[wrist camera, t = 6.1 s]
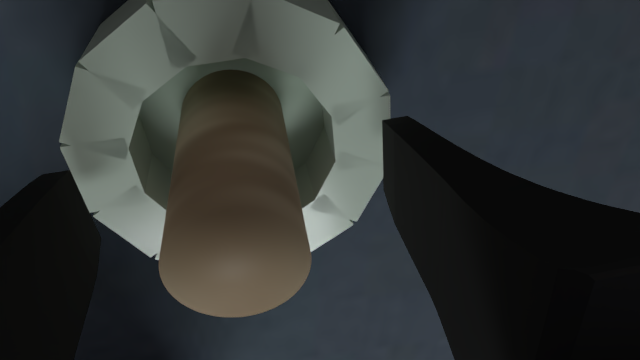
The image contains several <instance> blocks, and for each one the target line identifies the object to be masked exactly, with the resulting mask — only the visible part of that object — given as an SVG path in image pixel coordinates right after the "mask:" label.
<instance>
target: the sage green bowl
mask: <svg viewBox="0 0 640 360" xmlns="http://www.w3.org/2000/svg"><path fill="white" fill-rule="evenodd" d="M221 70H241V71H246V72H249V73H252V74H254V75H256V76H258V77H260V78H261V79H263V80H264V81H266V82H267V83H268V84H269V85H270V86H271V87H272V88H273V90H274V91H275V92H276V94H277V96H278V98H279V100H280V103H281V107H282V112H283V117H284V122H285V127H286V132H287V137H288V142H289V147H290V152H291V157H292V162H293V167H294V172H295V177H296V182H297V187H298V192H299V197H300V202H301V207H302V212H303V217H304V222H305V227H306V232H307V237H308V242H309V246H310V252H312V251H313V250H315V249H317V248H318V247H320V246H321V245H323V244H324V243H326V242H327V241H329V240H331V239H332V238H334V237H335V236H337V235H338V234H340V233H341V232H343V231H345V230H346V229H348V228H349V227H351V226H352V225H354V224H353V221H357V220H358V219H359V217H360V215H361V214H362V212H363V210H364V209H365V207H366V205H367V204H368V202H369V200H370V199H371V197H372V195H373V194H374V192H375V190H376V189H377V187H378V185H379V184H380V182H381V180H382V179H383V138H382V120H386V119H390V94H389V93H388V89H387V87H386V86H385V84H384V83H383V81H382V79H381V78H380V76H379V75H378V73H377V71H376V70H375V68H374V67H373V65H372V63H371V62H370V60H369V59H368V57H367V55H366V54H365V52H364V51H363V49H362V48H361V47H360V45H359V44H358V42H357V41H356V39H355V38H354V37H353V35H352V34H351V32H350V31H349V29H348V28H347V26H346V25H345V24H344V22H343V21H342V19H341V18H340V16H339V15H338V13H337V12H336V11H335V9H334V8H333V6H332V5H331V3H330V2H329V1H328V0H128V1H127V2H126V3H124V4H123V5H122V6H121V7H120V8H119V9H117V10H116V11H115V12H114V13H113V14H112V15H111V16H109V17H108V18H107V19H106V20H105V21H104V22H102V23H101V24H100V26H99V27H98V29H97V31H96V32H95V34H94V36H93V37H92V39H91V41H90V43H89V44H88V46H87V48H86V49H85V51H84V53H83V54H82V56H81V58H80V59H79V61H78V63H77V64H76V66H75V70H74V74H73V79H72V84H71V88H70V93H69V98H68V102H67V107H66V112H65V116H64V121H63V126H62V130H61V135H60V140H59V142H60V143H62V144H61V146H60V149H61V151H62V154H63V156H64V158H65V160H66V162H67V164H68V167H69V169H70V171H71V173H72V175H73V178H74V180H75V182H76V184H77V186H78V188H79V191H80V193H81V195H82V197H83V199H84V202H85V204H86V206H87V208H88V210H89V212H90V213H91V212H94V214H93V217H94V218H96V219H97V220H98V221H100V222H101V223H103V224H104V225H105V226H107V227H108V228H110V229H111V230H112V231H114V232H115V233H117V234H118V235H120V236H121V237H122V238H124V239H125V240H127V241H128V242H129V243H131V244H132V245H134V246H135V247H136V248H138V249H139V250H141V251H142V252H143V253H145V254H146V255H148V256H149V257H150V258H151V257H152V256H154V255H155V254H156V256H155V260H159V256H160V250H161V243H162V236H163V230H164V223H165V216H166V210H167V203H168V196H169V190H170V183H171V176H172V170H173V163H174V156H175V150H176V143H177V136H178V130H179V123H180V116H181V109H182V104H183V101H184V98H185V96H186V94H187V92H188V91H189V89H190V88H191V87H192V86H193V85H194V83H196V82H197V81H198V80H199V79H201V78H202V77H204V76H206V75H208V74H210V73H213V72H216V71H221ZM352 220H353V221H352Z"/></svg>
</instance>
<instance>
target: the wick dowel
mask: <svg viewBox="0 0 640 360" xmlns="http://www.w3.org/2000/svg"><path fill="white" fill-rule="evenodd" d="M310 267H311V252H310V246H309V242H308V237H307V232H306V227H305V222H304V217H303V212H302V207H301V202H300V197H299V192H298V187H297V182H296V177H295V172H294V167H293V162H292V157H291V152H290V147H289V142H288V137H287V132H286V127H285V122H284V117H283V112H282V107H281V103H280V100H279V98H278V96H277V94H276V92H275V91H274V90H273V88H272V87H271V86H270V85H269V84H268V83H267V82H266V81H264V80H263V79H261V78H260V77H258V76H256V75H254V74H252V73H249V72H246V71H241V70H221V71H216V72H213V73H210V74H208V75H206V76H204V77H202V78H201V79H199V80H198V81H197V82H196V83H194V85H193V86H192V87H191V88H190V89H189V91H188V92H187V94H186V96H185V98H184V101H183V104H182V109H181V116H180V123H179V130H178V136H177V143H176V150H175V156H174V163H173V170H172V176H171V183H170V190H169V196H168V203H167V210H166V216H165V223H164V230H163V236H162V243H161V250H160V256H159V273H160V277H161V280H162V282H163V284H164V286H165V288H166V289H167V291H168V292H169V293H170V294H171V295H172V296H173V297H174V298H175V299H176V300H177V301H179V302H180V303H181V304H183V305H185V306H186V307H188V308H190V309H192V310H194V311H197V312H200V313H203V314H207V315H211V316H218V317H244V316H250V315H255V314H259V313H262V312H266V311H268V310H271V309H273V308H275V307H277V306H279V305H281V304H282V303H284V302H285V301H287V300H288V299H290V298H291V297H292V296H293V295H294V294H295V293H296V292H297V291H298V290H299V289H300V288H301V286H302V285H303V284H304V282H305V280H306V278H307V277H308V274H309V271H310Z"/></svg>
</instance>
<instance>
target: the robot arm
mask: <svg viewBox="0 0 640 360" xmlns="http://www.w3.org/2000/svg"><path fill="white" fill-rule="evenodd" d="M382 138H383V182H384V192H385V196H386V199H387V202H388V205H389V208H390V211H391V214H392V217H393V220H394V223H395V225H396V227H397V229H398V231H399V233H400V235H401V237H402V239H403V241H404V243H405V246H406V248H407V250H408V252H409V254H410V256H411V258H412V260H413V262H414V264H415V266H416V268H417V270H418V272H419V274H420V276H421V278H422V280H423V282H424V284H425V286H426V288H427V290H428V292H429V294H430V296H431V298H432V301H433V303H434V305H435V307H436V310H437V312H438V315H439V318H440V320H441V323H442V326H443V329H444V331H445V334H446V337H447V340H448V342H449V345H450V348H451V351H452V354H453V356H454V359H455V360H640V213H638V212H633V211H629V210H624V209H620V208H615V207H611V206H607V205H603V204H599V203H595V202H591V201H588V200H584V199H581V198H578V197H574V196H571V195H568V194H565V193H561V192H558V191H555V190H552V189H549V188H546V187H543V186H541V185H538V184H536V183H533V182H531V181H528V180H526V179H523V178H521V177H518V176H516V175H513V174H511V173H509V172H506V171H504V170H502V169H500V168H498V167H496V166H494V165H492V164H490V163H488V162H486V161H484V160H482V159H480V158H478V157H476V156H474V155H472V154H471V153H469V152H467V151H465V150H463V149H462V148H460V147H458V146H456V145H455V144H453V143H451V142H450V141H448V140H446V139H445V138H443V137H441V136H440V135H438V134H437V133H435V132H433V131H432V130H430V129H428V128H427V127H425V126H424V125H422V124H420V123H419V122H417V121H415V120H414V119H412V118H410V117H408V116H405V117H399V118H392V119H386V120H382ZM100 244H101V237H100V235H99V233H98V230H97V228H96V226H95V224H94V222H93V219H92V217H91V215H90V213H89V211H88V209H87V206H86V204H85V202H84V200H83V198H82V196H81V193H80V191H79V189H78V187H77V185H76V182H75V180H74V178H73V176H72V174H71V172H70V170H68V171H62V172H55V173H49V174H43V175H41V176H39V177H38V178H36V179H35V180H34V181H32V182H31V183H30V184H28V185H27V186H26V187H24V188H23V189H22V190H21V191H20V192H18V193H17V194H16V195H15V196H13V197H12V198H11V199H10V200H9V201H8V202H6V203H5V204H4V205H3V206H2V207H0V360H74V356H75V353H76V349H77V346H78V342H79V338H80V335H81V331H82V328H83V324H84V321H85V317H86V314H87V310H88V307H89V303H90V299H91V296H92V292H93V288H94V285H95V281H96V277H97V270H98V263H99V254H100Z"/></svg>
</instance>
